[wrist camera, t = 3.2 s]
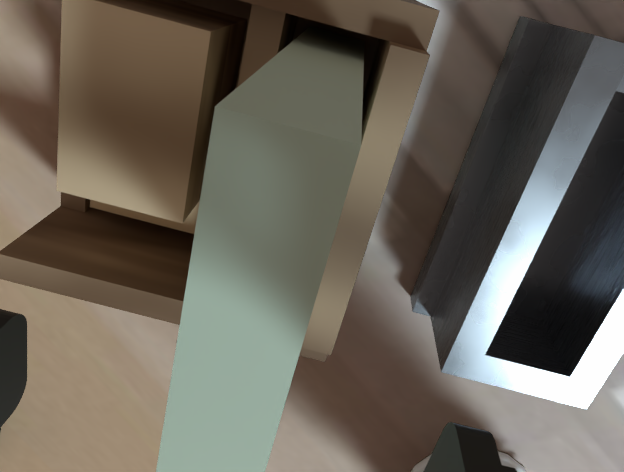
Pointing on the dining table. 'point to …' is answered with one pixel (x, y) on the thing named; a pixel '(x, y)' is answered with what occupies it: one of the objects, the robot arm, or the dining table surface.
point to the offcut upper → (137, 103)
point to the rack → (178, 244)
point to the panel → (261, 250)
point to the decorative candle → (504, 458)
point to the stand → (536, 225)
